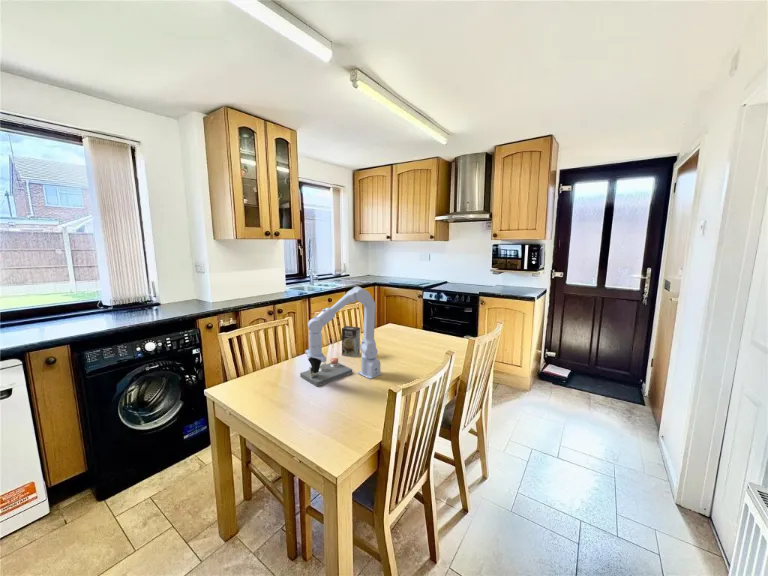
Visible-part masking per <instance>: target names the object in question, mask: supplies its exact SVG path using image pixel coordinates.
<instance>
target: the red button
mask: <svg viewBox="0 0 768 576" xmlns="http://www.w3.org/2000/svg"><path fill="white" fill-rule="evenodd" d="M330 363H331V364H338V363H339V358H338V357H333V358H330Z"/></svg>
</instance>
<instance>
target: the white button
mask: <svg viewBox="0 0 768 576" xmlns="http://www.w3.org/2000/svg"><path fill="white" fill-rule="evenodd" d="M326 364H327V361H326V362H321V364H320V369H323V368H326Z"/></svg>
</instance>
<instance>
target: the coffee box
mask: <svg viewBox="0 0 768 576" xmlns="http://www.w3.org/2000/svg"><path fill="white" fill-rule="evenodd" d="M360 345H361V327H358V326H352V325H351V326H350V325H345V326H344V327H342V328H341V356H344V357H345V356H346V357H351V358H357V357H358V356H359V355H360V354H361V350H360Z"/></svg>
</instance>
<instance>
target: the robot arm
mask: <svg viewBox="0 0 768 576" xmlns="http://www.w3.org/2000/svg"><path fill="white" fill-rule="evenodd" d="M357 302H359V303H360V304H362V305H363V307H364V309H363V312H364V313H363V337H362V339H361V342H360V352H361V355H360V356H361V360H360V361H361V362H360V363H361V365H360V366H361V367H360V368H361V370H360V371H357V374H359V375H360V376H363V377H365V378H367V379H369V380H372V379H374V378H377V377H379V376H381V375H382V372H381V361H380V360H379V359H378V358H377V356H378V348H377V344H376V341H375V326H376V325H375V322H376V321H375V319H376V302H375V300H374V299H373V297H372V295H371V293H370V292H369V291H368V290H366V289H365V288H362V287H361V286H358V285H357V286H353V287H352V288H351V289H350V290H348V291H347V292H346V293H345V294H344V295H343V296H342V297H341V298H339V299H338V301H336V302H335V303H334V304H333V305H332V306H331V307H326V308H323V309H322V310H321V312H320V313H319V314H318V315H314V316H313V318H311V319H309V320H308V322H307V328H308V348H307V349H306V350H305V353H304V354H305V355H306V356H307V360H308V362H309V363H310V364H309V365H310V367H312V370H313V373H317V372H319V368H320V364H321V362H326V363H327V357H326V356H325V355H324V354H323V350H322V347H323V346H322V340H323V339H322V331H323V328H324V326H325V327H326V325H327V324H329V323H330V321H332V320H333V319H334V318H335V317H336V313H338V312H339V311H340V310H342V309H343V308H344V307H345V306H347V305H348V304H353V303H357Z"/></svg>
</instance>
